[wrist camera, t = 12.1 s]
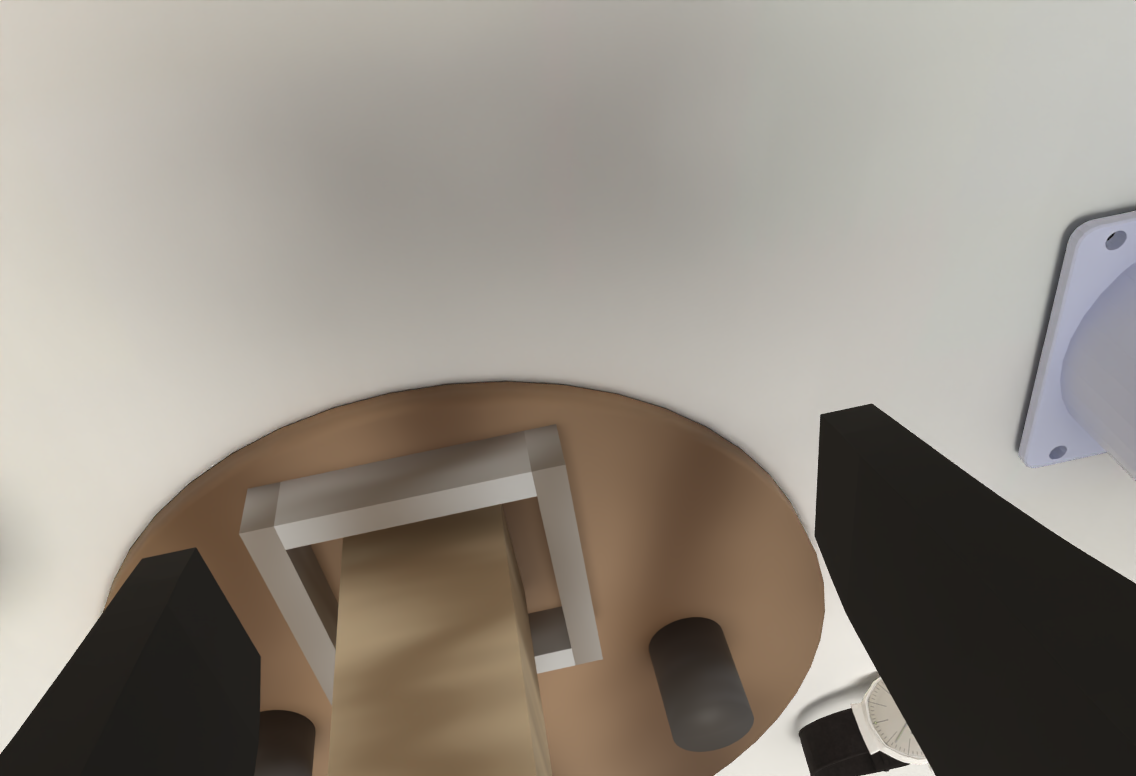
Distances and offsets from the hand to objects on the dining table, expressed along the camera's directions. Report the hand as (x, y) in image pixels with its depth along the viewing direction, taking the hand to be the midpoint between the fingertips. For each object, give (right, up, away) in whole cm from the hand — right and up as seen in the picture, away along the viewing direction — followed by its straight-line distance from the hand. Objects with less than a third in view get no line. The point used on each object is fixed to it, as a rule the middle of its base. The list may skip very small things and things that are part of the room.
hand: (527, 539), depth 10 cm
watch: (+13, -10, +24) cm, 29 cm away
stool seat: (-2, -7, +18) cm, 19 cm away
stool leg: (-3, -3, +13) cm, 14 cm away
